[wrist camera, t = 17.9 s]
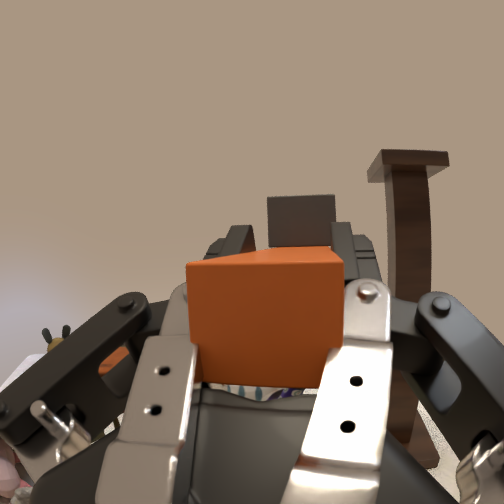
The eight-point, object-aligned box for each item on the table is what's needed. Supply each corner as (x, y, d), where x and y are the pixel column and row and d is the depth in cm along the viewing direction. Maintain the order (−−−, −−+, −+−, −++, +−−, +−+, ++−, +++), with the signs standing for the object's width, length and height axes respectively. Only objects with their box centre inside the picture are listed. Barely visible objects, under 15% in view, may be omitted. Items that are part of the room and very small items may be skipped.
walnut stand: (437, 467, 25) (464, 149, 24) (354, 476, 27) (366, 145, 26) (415, 418, 37) (427, 172, 36) (349, 423, 39) (354, 172, 38)
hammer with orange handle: (366, 389, 5) (358, 98, 5) (171, 379, 6) (161, 119, 6) (334, 278, 23) (332, 203, 23) (280, 279, 24) (278, 205, 24)
